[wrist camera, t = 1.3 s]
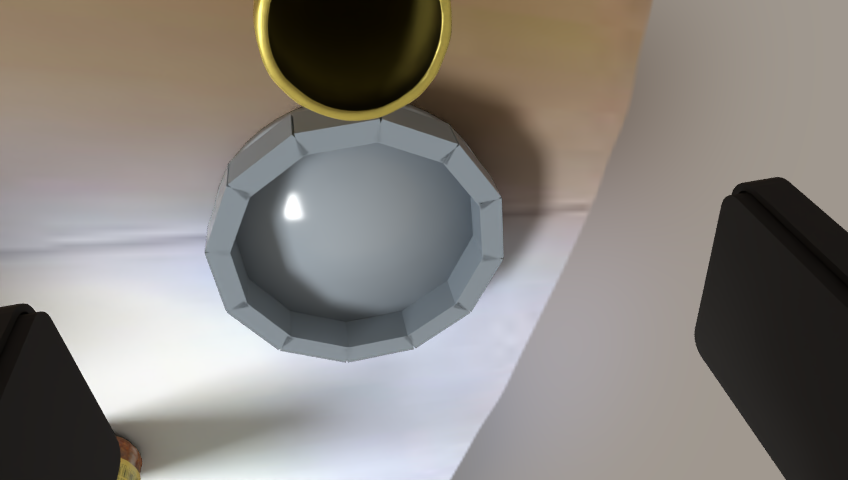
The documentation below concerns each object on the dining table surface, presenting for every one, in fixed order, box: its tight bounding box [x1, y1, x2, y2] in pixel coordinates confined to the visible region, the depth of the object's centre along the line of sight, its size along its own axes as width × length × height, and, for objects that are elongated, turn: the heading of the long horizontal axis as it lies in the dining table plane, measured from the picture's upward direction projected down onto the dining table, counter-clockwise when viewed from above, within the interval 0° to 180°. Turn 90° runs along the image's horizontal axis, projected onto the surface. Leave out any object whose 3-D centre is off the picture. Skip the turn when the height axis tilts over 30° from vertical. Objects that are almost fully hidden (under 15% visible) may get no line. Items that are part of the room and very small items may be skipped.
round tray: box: [205, 104, 504, 362], centre depth 38 cm, size 15×15×3 cm
